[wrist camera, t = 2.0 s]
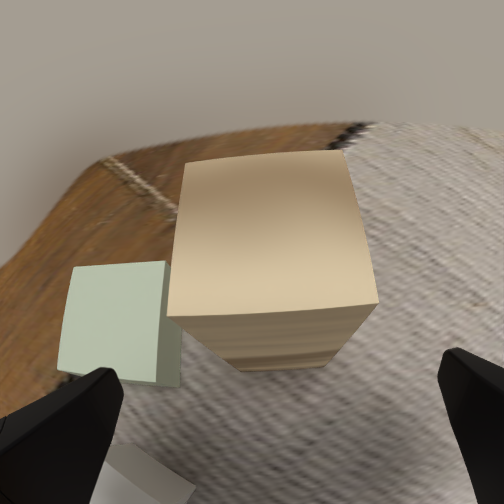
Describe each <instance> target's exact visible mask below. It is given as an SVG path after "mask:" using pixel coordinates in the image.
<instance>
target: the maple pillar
mask: <svg viewBox="0 0 504 504" xmlns="http://www.w3.org/2000/svg"><path fill="white" fill-rule="evenodd" d="M378 303H379V301H378V295H377V289H376V284H375V278H374V273H373V268H372V263H371V258H370V254H369V249H368V244H367V240H366V236H365V231H364V227H363V223H362V219H361V215H360V211H359V207H358V203H357V199H356V196H355V192H354V188H353V185H352V181H351V178H350V174H349V171H348V167H347V164H346V161H345V157H344V154H343V151H342V150H322V151H301V152H285V153H272V154H260V155H249V156H239V157H230V158H221V159H213V160H205V161H197V162H190V163H186V164H185V170H184V176H183V182H182V189H181V195H180V202H179V209H178V216H177V223H176V231H175V239H174V247H173V256H172V265H171V274H170V284H169V295H168V307H167V317H169V318H170V319H171V320H172V321H174V322H175V323H176V324H177V325H179V326H180V327H181V328H182V329H184V330H185V331H186V332H187V333H189V334H190V335H191V336H193V337H194V338H195V339H197V340H198V341H199V342H201V343H202V344H203V345H205V346H206V347H207V348H209V349H210V350H211V351H213V352H214V353H215V354H217V355H218V356H219V357H221V358H222V359H224V360H225V361H226V362H228V363H229V364H231V365H232V366H233V367H235V368H236V369H238V370H239V371H240V372H251V371H276V370H292V369H306V368H318V367H324V366H325V365H326V364H327V363H328V362H329V361H330V360H331V359H332V358H333V357H334V355H335V354H336V353H337V352H338V351H339V350H340V349H341V348H342V346H343V345H344V344H345V343H346V342H347V341H348V340H349V339H350V337H351V336H352V335H353V334H354V333H355V332H356V330H357V329H358V328H359V327H360V326H361V324H362V323H363V322H364V321H365V320H366V318H367V317H368V316H369V315H370V313H371V312H372V311H373V310H374V309H375V307H376V306H377V305H378Z"/></svg>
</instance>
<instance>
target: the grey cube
mask: <svg viewBox="0 0 504 504" xmlns="http://www.w3.org/2000/svg"><path fill="white" fill-rule="evenodd" d="M196 487H197V486H195V485H194V484H192V483H190V482H189V481H187V480H185V479H184V478H182V477H181V476H179V475H178V474H176V473H174V472H173V471H171V470H170V469H168V468H167V467H165V466H164V465H163V464H161V463H160V462H158V461H157V460H155V459H154V458H153V457H151V456H150V455H148V454H147V453H146V452H144V451H143V450H142V449H140V448H139V447H138V446H136V445H135V444H134V443H129V444H121V445H114V446H110V447H109V450H108V452H107V455H106V458H105V461H104V463H103V466H102V469H101V472H100V474H99V477H98V480H97V483H96V486H95V489H94V492H93V495H92V497H91V500H90V503H89V504H185V503H186V502H187V501H188V499H189V498H190V496H191V495H192V493H193V492H194V490H195V489H196Z"/></svg>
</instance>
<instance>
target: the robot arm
mask: <svg viewBox="0 0 504 504" xmlns="http://www.w3.org/2000/svg"><path fill="white" fill-rule="evenodd" d="M437 378H438V383H439V387H440V390H441V393H442V396H443V400H444V403H445V406H446V410H447V413H448V417H449V420H450V424H451V427H452V429H453V432H454V435H455V437H456V440H457V442H458V445H459V448H460V450H461V453H462V456H463V459H464V462H465V465H466V467H467V470H468V473H469V476H470V480H471V483H472V486H473V489H474V492H475V496H476V499H477V503H478V504H504V368H502V367H500V366H498V365H496V364H494V363H491V362H489V361H487V360H485V359H483V358H481V357H478V356H476V355H474V354H472V353H470V352H468V351H465V350H463V349H461V348H458V347H456V348H452V349H447V350H446V351H445V352H444V353H443V357H442V360H441V364H440V367H439V371H438V376H437ZM123 397H124V392H123V388H122V386H121V383H120V381H119V378H118V376H117V373H116V371H115V370H114V369H113V368H109V367H99V368H97V369H95V370H93V371H92V372H90V373H88V374H86V375H84V376H82V377H80V378H79V379H77V380H75V381H73V382H71V383H69V384H67V385H65V386H63V387H62V388H60V389H58V390H56V391H54V392H52V393H50V394H48V395H46V396H44V397H42V398H41V399H39V400H37V401H35V402H33V403H31V404H29V405H27V406H25V407H23V408H21V409H19V410H17V411H15V412H13V413H11V414H9V415H8V416H7V417H6V416H5V417H3V418H1V419H0V504H89V503H90V500H91V497H92V495H93V492H94V489H95V486H96V483H97V480H98V477H99V474H100V472H101V469H102V466H103V463H104V461H105V458H106V455H107V452H108V450H109V447H110V444H111V441H112V438H113V435H114V431H115V427H116V424H117V420H118V416H119V412H120V409H121V405H122V401H123Z"/></svg>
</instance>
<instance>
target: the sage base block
mask: <svg viewBox="0 0 504 504" xmlns="http://www.w3.org/2000/svg"><path fill="white" fill-rule="evenodd" d="M170 274H171V267H170V266H169V265H168V264H167V262H166V261H155V262H140V263H126V264H111V265H96V266H82V267H74V268H73V273H72V277H71V282H70V287H69V291H68V297H67V302H66V307H65V313H64V319H63V325H62V332H61V339H60V347H59V356H58V365H57V370H61V371H64V372H68V373H71V374H75V375H79V376H84V375H86V374H88V373H90V372H92V371H93V370H95V369H97V368H99V367H109V368H113V369H114V370H115V371H116V373H117V376H118V378H119V381H120V383H129V384H138V385H149V386H162V387H178V388H180V363H181V338H182V328H181V327H180V326H179V325H177V324H176V323H175V322H174V321H172V320H171V319H170V318H169V317H167V307H168V295H169V284H170Z"/></svg>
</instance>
